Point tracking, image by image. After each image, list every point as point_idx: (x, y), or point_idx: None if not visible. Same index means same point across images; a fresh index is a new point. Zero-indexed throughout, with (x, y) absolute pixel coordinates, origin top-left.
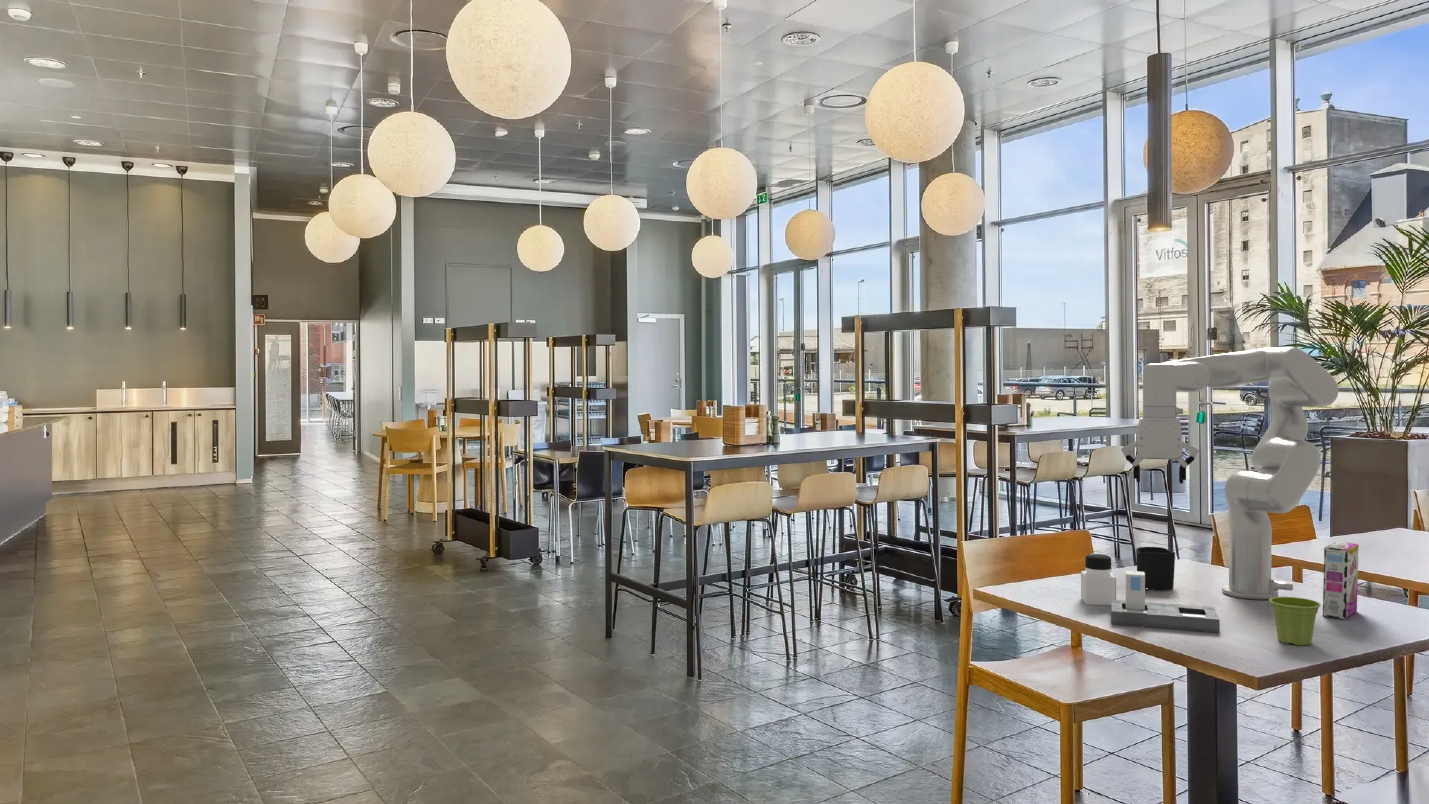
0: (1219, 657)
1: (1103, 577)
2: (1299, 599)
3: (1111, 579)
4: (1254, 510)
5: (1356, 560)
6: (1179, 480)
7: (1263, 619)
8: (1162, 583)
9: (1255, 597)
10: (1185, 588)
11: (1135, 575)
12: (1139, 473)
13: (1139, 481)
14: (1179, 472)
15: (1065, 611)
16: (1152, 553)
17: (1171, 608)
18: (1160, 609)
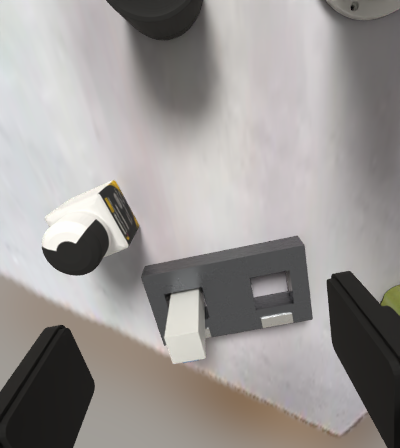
0: (305, 398)
1: (106, 256)
2: None
3: (121, 250)
4: None
5: None
6: (336, 334)
7: (375, 191)
8: (184, 30)
9: (383, 16)
10: None
11: (189, 360)
12: (71, 443)
13: (92, 388)
14: (366, 382)
15: (85, 296)
16: (151, 22)
17: (240, 289)
18: (226, 303)
